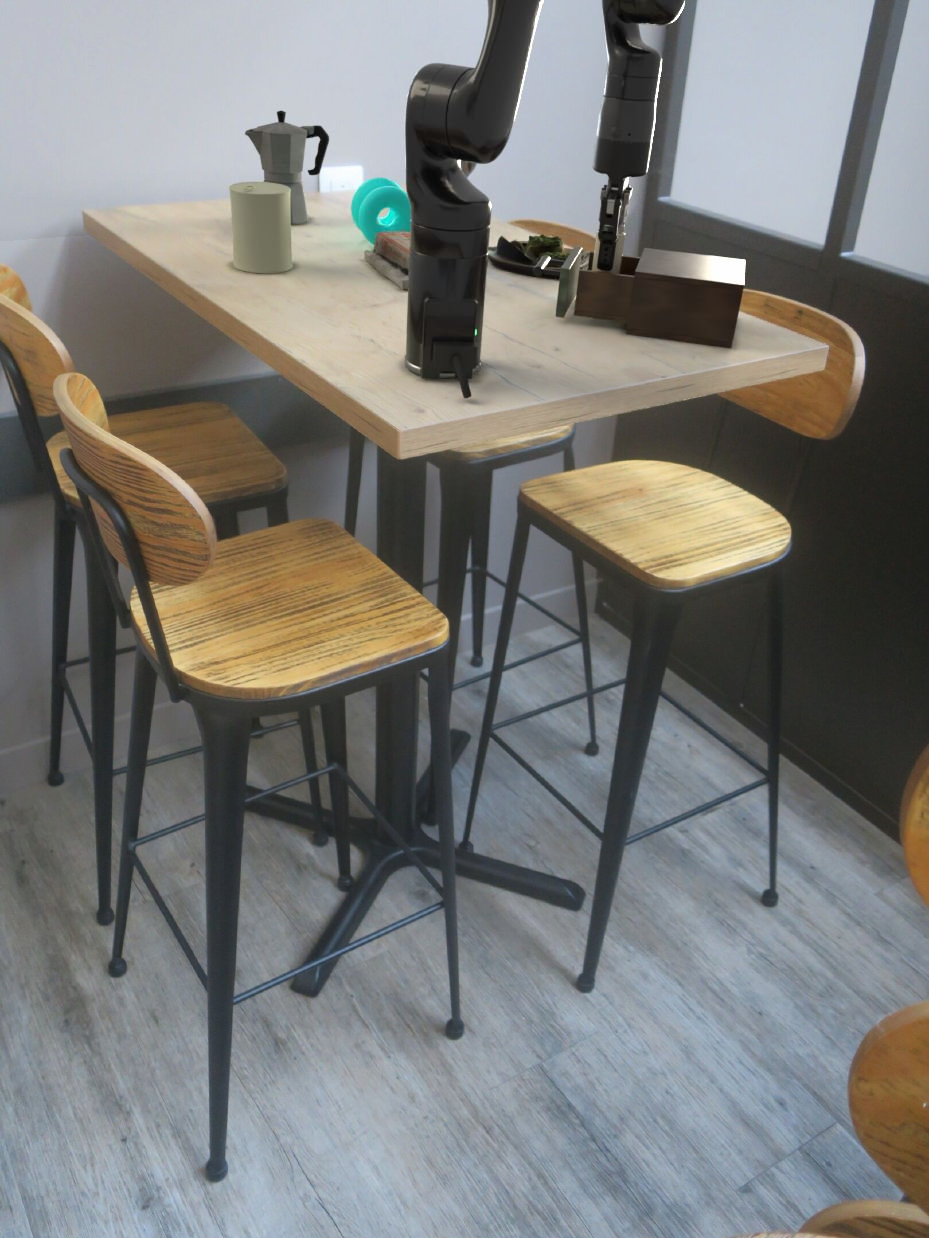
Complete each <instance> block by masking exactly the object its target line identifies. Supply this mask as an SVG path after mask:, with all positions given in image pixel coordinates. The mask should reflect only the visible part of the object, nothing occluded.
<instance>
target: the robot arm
mask: <svg viewBox="0 0 929 1238" xmlns="http://www.w3.org/2000/svg"><path fill="white" fill-rule="evenodd" d="M486 1H487V25H486V28H485V34H484V39H483V43H482V46H481V47H482V48H481V51H480V53H479V54H480V55H479V57H478V60H477V63H476V65H475V67H471V66H466V65H465V66H464V65H457V64H452V63H445V62H443V63H442V62H431V63H428V64H426V65H425V64H424V66H422V67H421V68H420V69H419V70H418V71H417V72H416V73H415V75H414V77H413V79H412V81H411V83H410V86H409V90H408V93H407V98H406V102H405V110H404V111H405V112H404V114H405V115H404V145H405V146H404V150H405V151H404V155H405V161H404V162H405V189H406V191H405V192H406V193H407V195H408V199H409V202H410V206H411V229H410V253H409V280H408V289H407V308H406V338H405V340H406V341H405V355H404V366H405V368H406V369H407V370H408V371H410V372H411V373H414V374H417V375H419V376H420V378H421V379H424V380H427V379H430V380H431V379H433V380H458V382H459V386H460V391H461V393H462V397H463V399H469V398H471V397H472V392H471V388H470V385H469V380H472V379H473V376H474V375H476V374H478V373H479V372H480V371H481V368H482V367H481V366H482V360H481V356H482V355H481V353H482V341H483V327H484V315H485V314H484V312H485V302H486V301H485V300H486V288H487V274H488V261H489V260H488V250H489V247H490V235H491V233H490V232H491V221H492V202H491V200H490V198H489V197H488V196H487V195H486V194H485V193H484V192H482V191H481V190H480V189H479V188H477V186H475V185H474V184H473V183H472V182H471V181H470V180H469V179H468V178H467V177H466V176H465V174H464V173H463V171H462V169H461V164H460V161H465V162H471V163H477V164H478V165H489V164H491V163H492V162H494V161H496V160H497V159H498V158H499V156H501V154H502V153H503V151H504V150H505V148H506V146H507V144H508V142H509V140H510V138H511V135H512V131H513V128H514V125H515V122H516V117H517V115H518V110H519V106H520V101H521V97H522V92H523V88H524V83H525V80H526V73H527V69H528V65H529V60H530V55H531V51H532V46H533V41H534V37H535V33H536V30H537V25H538V22H539V18H540V14H541V11H542V7H543V4H544V0H486ZM685 5H686V0H601V10H602V11H601V12H602V20H603V28H604V39H605V40H604V41H605V48H606V49H605V50H606V61H607V62H606V69H605V76H604V85H603V95H602V100H601V104H600V107H599V112H598V118H597V126H596V134H595V142H594V149H593V159H592V169H593V170H594V171H595V172H596V173H599V174H602V175H606V176H607V177H608V179H607V184H605V183H604V184H603V187H601V191H600V196H599V200H600V209H599V213H598V214H599V215H598V222H599V227H598V229H599V233H598V239H599V242H600V247H599V254H598V262H597V268H598V269H599V270H605V271H611V270H612V268H613V263H614V256H615V249H616V244H617V241H618V239H619V237H618V233H619V228H620V226H622V225H624V226H625V224H626V222H625V221H626V220H627V217H628V213H629V205H630V202H631V199H632V195H633V187H631V184H630V183H629V178H640V177H644V176H645V175H647V173H648V171H649V164H650V158H651V152H652V144H653V137H654V132H655V125H656V114H657V98H658V92H659V85H660V79H661V78H660V77H661V73H662V65H663V64H662V63H663V59H662V58H663V57H662V54H661V52H660V51H658V50H657V49H656V48H654V47H652V46H649V45H648V44H646V43H645V42H644V41H643V39H642V36H641V35H642V34H641V30H640V25H644V26H645V25H647V26H654V27H664V26H667V25H670V24H672V23H673V22H675V21H676V20H677V19H678V18H679V16H680V15H681V13H682V11H683V9H684V7H685ZM606 225H611V226H613V227H614V231H613V232H611V231H605V226H606Z"/></svg>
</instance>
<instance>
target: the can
mask: <svg viewBox="0 0 929 1238" xmlns="http://www.w3.org/2000/svg"><path fill="white" fill-rule="evenodd" d="M228 189H229V197H230V211H231V212H230V213H231V229H232V230H231V232H232V249H233V252H232V253H233V260H232V261H233V262H232V266H233V267H234V268H235V269H236V270H238V271H240V272H241V271H242V272H245V273H251V274H279V273H284V272H287V271H290V270H291V269H293V267H294V263H293V256H292V255H293V254H292V225H291V211H290V192H291V189H290V188H289V187H288V186H285V185H282V184H277V183H270V182H264V181H242V182H237V183H233V184H231V185H229V187H228Z"/></svg>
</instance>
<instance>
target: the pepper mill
mask: <svg viewBox="0 0 929 1238" xmlns="http://www.w3.org/2000/svg"><path fill="white" fill-rule="evenodd" d="M624 230H625V224H624V225H622V226H620V228H619V233H618V237H619V239H618V241H617V244H616V249H615V256H614V263H613V268H612V270H611V271H605V270H599V269H598V268H597V262H598V254H599V247H600V242H599V239H598V233H599V228H598V229H597V230H596V233H595V234H596V235H595V241H594V248H593V249H594V250H593V251H594V256H593V264H592V271H599V272H607V273H615V274H620V267H621V260H622V255H623V253H624V252H623V251H624V248H625V247H624V245H625V239H626V232H625V231H624ZM605 231H611V232H613V231H614V227H613V226H611V225H606V226H605Z"/></svg>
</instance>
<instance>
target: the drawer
mask: <svg viewBox="0 0 929 1238" xmlns="http://www.w3.org/2000/svg"><path fill="white" fill-rule="evenodd" d="M572 249H573V250H572V252H571V253H570V255H569V256H568V258H567V259H566V261H563V260H555V259H550V257H549V256H547V255H544V256H543V257H542V258H541V259H540V261H539V262H538V263H537V265H536V266H535V268H534V269H533V273H534V275H535V276H541V275H542V273H543V274H549V275H556V276H560V278H559V279H558V289H557V298H556V307H555V315H554V316H555V317H556V318H561V319H564V318H565V316H566V314H567V312H568V310H569V309H570V307H571V305H572V303H573V301H574V299H575V301H574V302H575V303H574V309H573V316H574V317H581V318H589V319H596V320H602V321H612V322H619V323H626V324H627V322H628V316H629V309H630V302H631V296H632V289H633V282H634V276H635V271H636V268H637V266H638V263H639V261H640V258H641V256H634V255H627V254H626V255H625V254H622V260H621V267H620V274H615V273H607V272H599V271H592V264H593V256H594V250H590V251H589V252H590V254H589V262H588V266H587V269H580V263H581V255H582V250H583V247H581V246H574V247H573V248H572ZM549 263H550V264H554V265H562V267H561V271H558V270H550V269H546V268H547V266H548V265H549Z"/></svg>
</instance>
